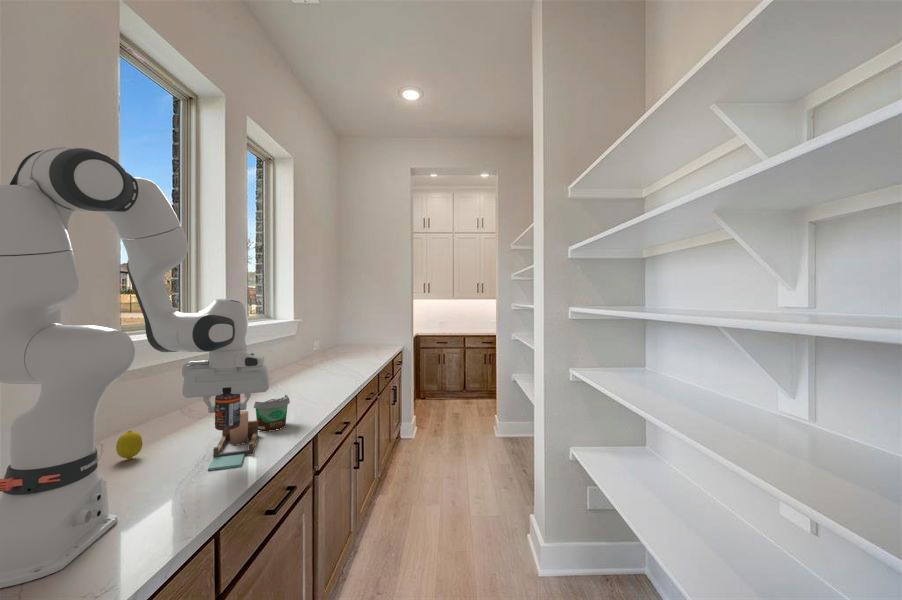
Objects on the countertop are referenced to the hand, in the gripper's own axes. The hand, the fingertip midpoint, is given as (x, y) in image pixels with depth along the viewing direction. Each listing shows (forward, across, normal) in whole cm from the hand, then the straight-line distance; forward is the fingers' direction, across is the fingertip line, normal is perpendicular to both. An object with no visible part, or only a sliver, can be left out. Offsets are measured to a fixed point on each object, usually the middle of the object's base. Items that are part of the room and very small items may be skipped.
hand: (227, 410), depth 104 cm
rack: (+14, +1, +12) cm, 18 cm away
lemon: (+14, -25, +12) cm, 31 cm away
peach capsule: (+14, +1, +16) cm, 21 cm away
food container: (+14, +11, +26) cm, 32 cm away
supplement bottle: (+5, 0, 0) cm, 5 cm away
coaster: (+14, 0, 0) cm, 14 cm away
